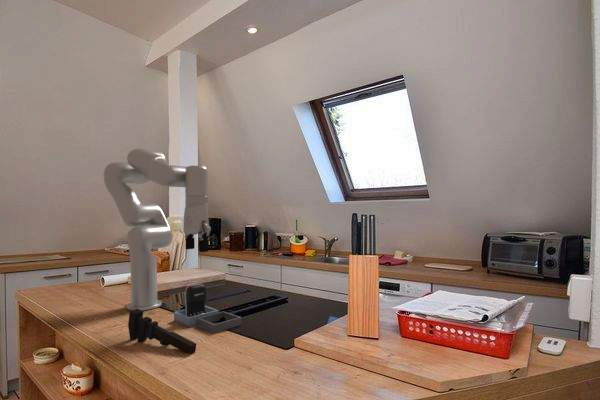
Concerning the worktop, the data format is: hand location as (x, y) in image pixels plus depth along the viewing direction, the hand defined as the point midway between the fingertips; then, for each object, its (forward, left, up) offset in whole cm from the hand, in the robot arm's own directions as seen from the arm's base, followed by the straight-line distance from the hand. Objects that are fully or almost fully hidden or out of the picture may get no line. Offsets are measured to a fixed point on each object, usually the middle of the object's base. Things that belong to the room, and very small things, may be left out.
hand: (196, 250), depth 129 cm
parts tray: (+2, -1, -24) cm, 24 cm away
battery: (+2, -1, -23) cm, 23 cm away
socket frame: (+13, 0, -24) cm, 27 cm away
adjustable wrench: (+15, -20, -24) cm, 35 cm away
